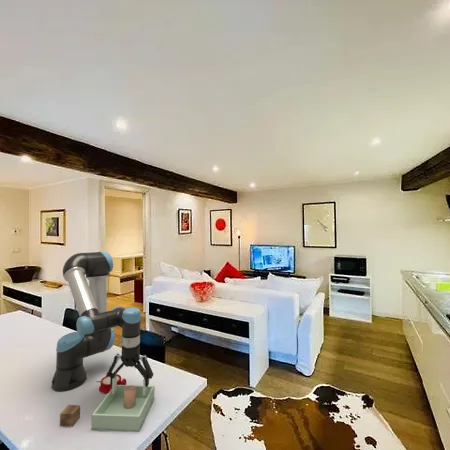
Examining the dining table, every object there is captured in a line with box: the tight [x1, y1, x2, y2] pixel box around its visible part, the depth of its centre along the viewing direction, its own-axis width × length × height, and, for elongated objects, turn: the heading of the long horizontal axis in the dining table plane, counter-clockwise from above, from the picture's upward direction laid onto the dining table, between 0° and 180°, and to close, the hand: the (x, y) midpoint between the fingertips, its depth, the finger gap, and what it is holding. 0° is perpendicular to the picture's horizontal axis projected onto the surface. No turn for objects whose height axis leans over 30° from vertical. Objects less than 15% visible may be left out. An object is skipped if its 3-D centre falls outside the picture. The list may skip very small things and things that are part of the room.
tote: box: [90, 384, 156, 432], centre depth 109 cm, size 19×20×6 cm
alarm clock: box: [96, 373, 128, 394], centre depth 126 cm, size 10×6×15 cm
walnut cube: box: [59, 404, 81, 428], centre depth 104 cm, size 5×5×5 cm
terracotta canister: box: [124, 384, 136, 409], centre depth 113 cm, size 5×5×7 cm
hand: (129, 392), depth 114 cm, fingers open, 13 cm apart
